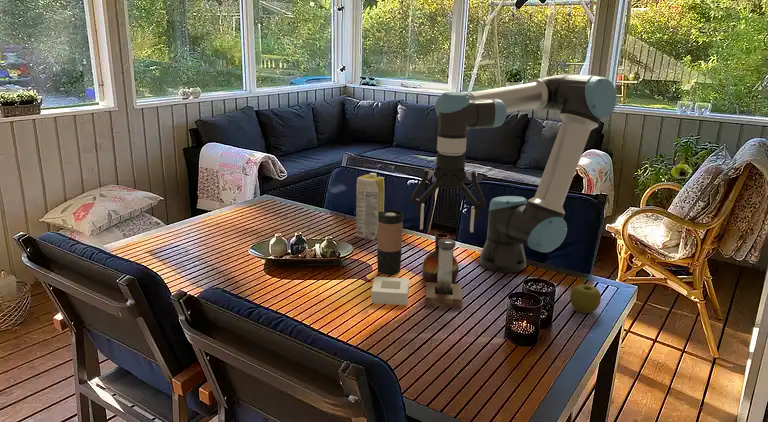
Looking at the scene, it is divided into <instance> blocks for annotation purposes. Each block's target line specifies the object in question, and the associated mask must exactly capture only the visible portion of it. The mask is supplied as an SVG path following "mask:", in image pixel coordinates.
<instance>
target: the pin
mask: <svg viewBox="0 0 768 422" xmlns="http://www.w3.org/2000/svg"><path fill="white" fill-rule="evenodd" d="M438 247H439V258H438V275H437V293H436V294H445V295H451V281H452V266H453V256H454V249H455V248H456V240H454V239H451V238H449V239H440V240H438Z"/></svg>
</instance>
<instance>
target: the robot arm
mask: <svg viewBox="0 0 768 422" xmlns="http://www.w3.org/2000/svg"><path fill="white" fill-rule="evenodd" d="M616 104H617V91H616V87H615V85H614V83H613V82H612V81H611V80H610V79H609V78H607V77H604V76H599V75H598V76H597V75H586V74H585V75H583V74H573V73H561V74H560V73H559V74H555V75H549V76H545V77H539V78H538V77H537V78H533V79H531V80H529V81H528V83H523V84H521V83H520V84H515V85H510V86H509V85H508V86H503V87H497V88H496V87H495V88H488V89H484V90H475V91H471V92H461V91H446V92H443V93H442V94H441V95H440V96H438V97H437V99H436V101H435V104H434V111H435V113H436V115H437V117H438V122H437V124H438V125H437V126H438V127H437V142H436V151H437V153H436V159H435V161H436V162H435V169H434V170H430V169H429V168H425V169H424V171H423V176H422V177H421V180H420V182H419V183H418V185H417V186H416V188H415V190H414V192H413V194H412V195H411V197H410V200H409V201H410V204H414V205H415V206H416V212H415V213H416V214H415V215H416V217H419V218H420V221H419V224H420V225H419V230H423V229H424V217H425V216H424V213H425V212H424V211H425V203H424V202H426V201H427V199H428V198H429V197H430V196H432V194H433V193H434V192H436V191H437V190H438V189H439V188H440V186H441V187H443V188H444V189H445V188H446V189H447V188H451V189H456V188H457V187H458V189H460V191H461V192H462V193H463V195H465V197H466V198H467V199H468V200H469V202H470V204H472V206H471V208H470V210H471V212H470V222H469V223H470V224H469V232H470V233H474V224H475V221H478V220H479V217H480V216H479V214H480V209H481V208H485V207H487V201H486V199H485V196H484V195H483V194H484V193H483V192H482V189H481V187H480V185H479V183H478V180H477V174H476V171H475V170H471V171H465V169H466V167H465V166H466V165H465V164H466V154H465V152H467V150H466V149H467V136H468V130H471V129H492V128H497V127H500V126H502V125H503V124H504V122H505V121H506V119H507V113H510V112H515V111H516V112H517V111H522V110H527V109H532V110H534V111H540V110H542V111H543V110H550V111H556V112H560V113H559V117H560V119H561V125H560V128H559V131H558V133H557V136H556V138H555V140H554V144H553V146H552V148H551V152H550V154H549V157H548V158H547V159H548V160H547V162H546V164H545V168H544V171H543V173H542V176H541V177H540V178H541V179H540V181H539V185H538V186H537V189H536V192H535V195H534V197H531V198H530V199H527V198H525V197H524V196H515V195H514V196H513V195H504V196H497V197H494V198H491V200H490V203H489V208H488V217H487V230H486V231H487V233H486V241H485V244H484V246H483V248H482V250H481V252H480V255H479V264H480V266H482V267H483V268H484V269H487V270H489V271H493V272H496V271H497V273H504V274H505V273H506V274H508V273H509V274H511V273H510V272H514V273H518V271H519V272H521V270H522V271H523V269H524V268H525V269H526V266H527V257H526V253H525V249H524V246H526V247H528V248H530V249H531V250H534V251H538V252H540V253H549V252H552V251H554V250H556V249H557V248H558V247H560V246H561V244H562V243H563V242H564V241H565V238H566V236H567V232H568V225H567V222H566V221H565V220H564V218H565V215H566V212H565V210H564V203H565V201H566V197H567V195H568V192H569V190H570V186H571V184H572V181H573V178H574V176H575V173H576V171H577V168H578V166H579V162H580V160H581V158H582V155H583V153H584V150H585V147H586V145H587V141H588V140H589V136H590V134H591V131H592V130H594V129H596V128H598V127H599V125H600V122H601V120H604V119H606V118H608V117H610V116H611V115H612V114H613V112H614V110H615V108H616V106H617V105H616ZM432 176H434V178H435V181H434V183H433V184H432V185H431V186H430V187H429V188H428V189H427V190H425V192H424V193H423V194H422V195H421V196H420V197H419V195H420V193H421V192H422V190H423V188H424V187H425V184H426V183H427V181H428V179H431V177H432ZM466 178H468V181H471V183H472V186H473V188H474V190H475V191H474V192H475V193H476V195H477V198H478V200H479V201H478V200H477V199H476V198H475V196H474V195H473V194H472V192H471V191H470V190H469V189H468V188H467V186H466V185H465V183H464V182H463V181H464V180H465V179H466ZM418 197H419V198H418ZM525 269H524V270H525Z"/></svg>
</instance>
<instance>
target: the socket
mask: <svg viewBox="0 0 768 422" xmlns="http://www.w3.org/2000/svg"><path fill="white" fill-rule="evenodd" d="M373 279H374V280H373V283H372V287H371V290H370V291H371V292H370V303H371V304H379V305H381V304H384V305H394V306H395V305H396V306H397V305H398V306H399V305H400V306H408V299H409V292H410V278H406V277H405V278H404V277H403V278H402V277H390V276H389V277H388V276H374V278H373Z"/></svg>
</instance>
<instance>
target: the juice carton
mask: <svg viewBox="0 0 768 422" xmlns="http://www.w3.org/2000/svg"><path fill="white" fill-rule="evenodd" d="M355 191H356V194H355V195H356V196H355V197H356V199H355V200H356V202H355V205H356V206H355V207H356V209H355V212H356V213H355V228H356V229H355V231H356V233H355V234H356V237H358V238H362V239H366V240H370V241H375V240H378V214H379V211H382V212H385V177H383V176H377V173H376V172H375V173H374V172H370V173H369V174H364V175H360V176H359V177H357V178H356V190H355Z"/></svg>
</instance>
